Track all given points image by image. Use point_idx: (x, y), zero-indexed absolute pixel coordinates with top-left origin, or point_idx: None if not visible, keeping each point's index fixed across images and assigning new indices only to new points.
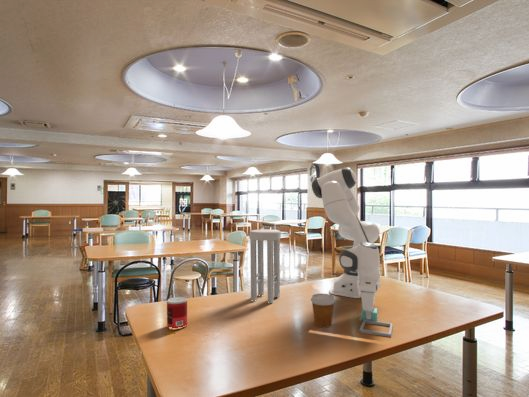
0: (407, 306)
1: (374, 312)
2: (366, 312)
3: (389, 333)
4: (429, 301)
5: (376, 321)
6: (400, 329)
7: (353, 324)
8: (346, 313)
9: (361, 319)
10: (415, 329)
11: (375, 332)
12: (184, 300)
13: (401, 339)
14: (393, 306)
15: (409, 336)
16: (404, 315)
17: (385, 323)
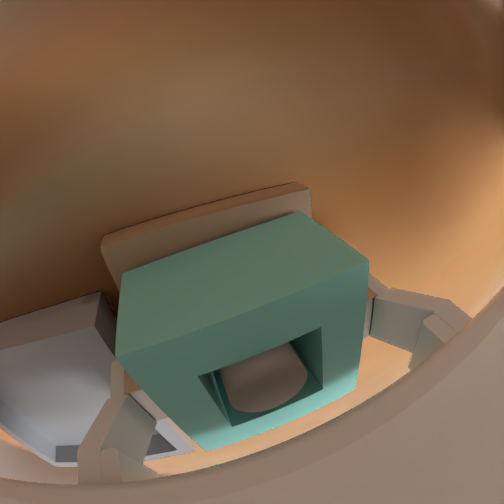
0: (475, 305)
1: (207, 440)
2: (93, 435)
3: (54, 463)
4: None
5: None
6: None
7: (28, 209)
8: (327, 10)
9: (122, 275)
10: (248, 450)
11: (3, 426)
12: None
13: None
14: (480, 269)
15: (154, 465)
16: (401, 356)
17: (165, 438)
